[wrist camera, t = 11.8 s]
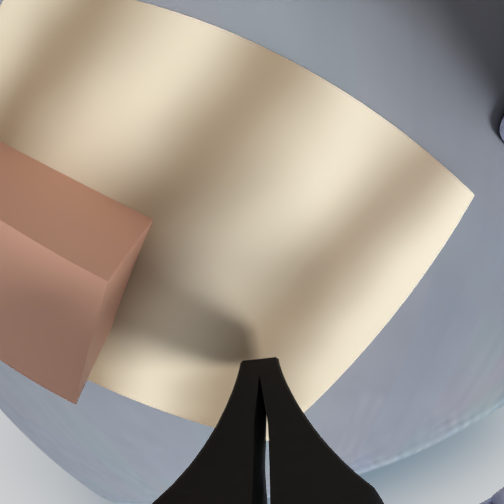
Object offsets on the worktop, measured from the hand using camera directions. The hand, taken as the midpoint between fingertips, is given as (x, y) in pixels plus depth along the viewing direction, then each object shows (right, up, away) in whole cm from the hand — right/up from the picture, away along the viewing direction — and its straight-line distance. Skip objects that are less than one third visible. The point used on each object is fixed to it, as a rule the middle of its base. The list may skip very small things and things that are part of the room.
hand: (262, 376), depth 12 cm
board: (-4, +5, 0) cm, 7 cm away
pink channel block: (-9, +6, -2) cm, 11 cm away
